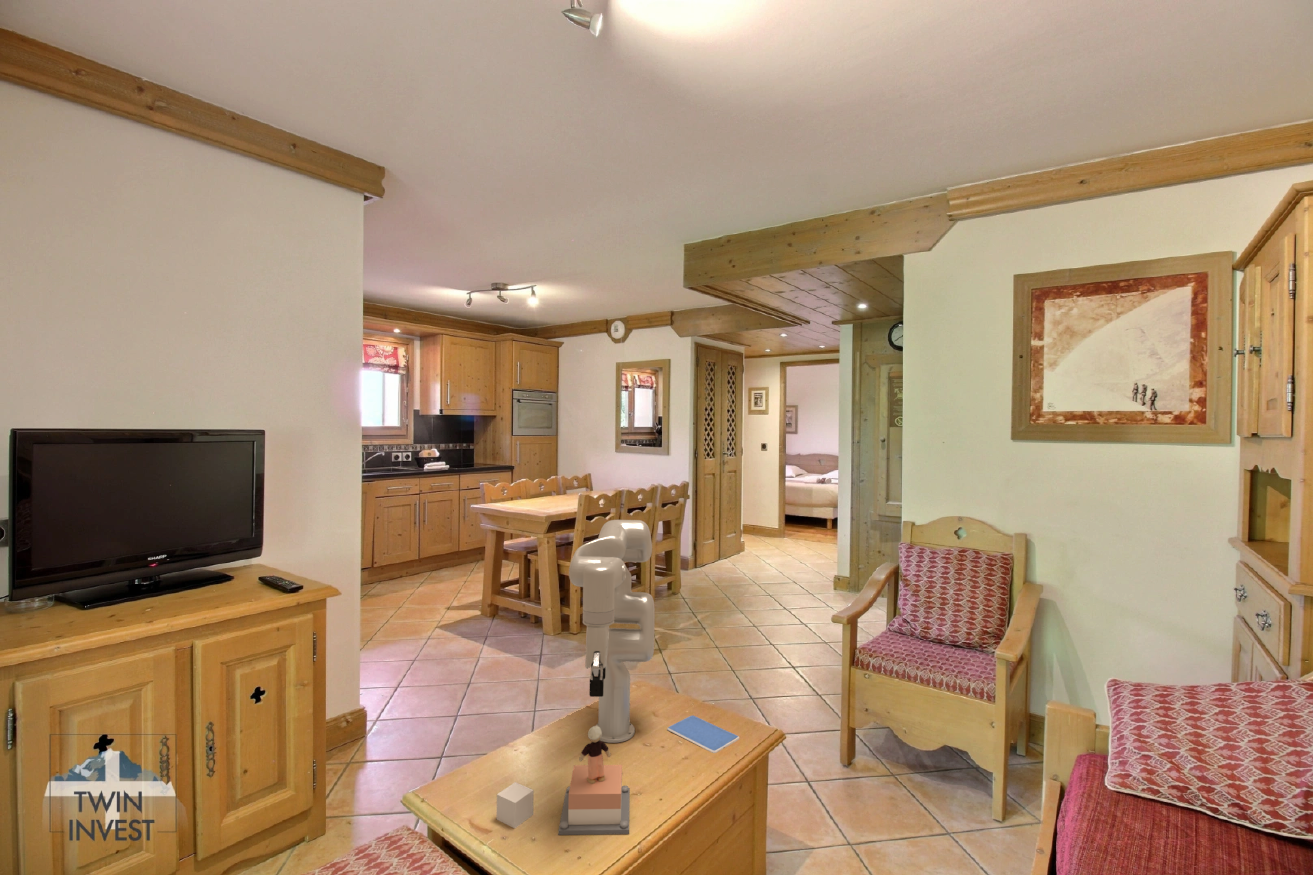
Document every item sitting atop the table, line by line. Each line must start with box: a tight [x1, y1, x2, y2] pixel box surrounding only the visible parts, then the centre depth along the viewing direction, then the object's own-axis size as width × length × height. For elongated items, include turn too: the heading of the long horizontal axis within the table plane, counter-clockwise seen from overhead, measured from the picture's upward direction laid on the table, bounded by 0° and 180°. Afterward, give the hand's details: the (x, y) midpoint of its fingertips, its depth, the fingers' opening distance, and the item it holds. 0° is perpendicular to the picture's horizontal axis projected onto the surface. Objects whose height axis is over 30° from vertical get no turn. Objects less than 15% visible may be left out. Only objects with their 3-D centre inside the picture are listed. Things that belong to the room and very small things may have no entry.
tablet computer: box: [666, 715, 740, 754], centre depth 181 cm, size 19×13×1 cm, turn 45°
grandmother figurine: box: [578, 725, 612, 784], centre depth 142 cm, size 8×4×13 cm, turn 124°
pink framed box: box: [557, 764, 631, 836], centre depth 142 cm, size 16×16×8 cm
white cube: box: [496, 781, 534, 829], centre depth 140 cm, size 6×6×6 cm
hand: (597, 687), depth 142 cm, fingers open, 9 cm apart
